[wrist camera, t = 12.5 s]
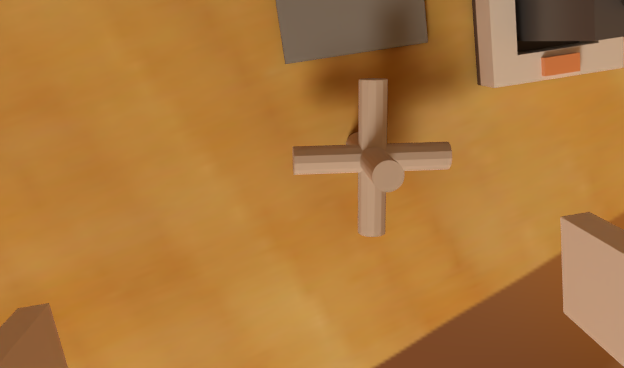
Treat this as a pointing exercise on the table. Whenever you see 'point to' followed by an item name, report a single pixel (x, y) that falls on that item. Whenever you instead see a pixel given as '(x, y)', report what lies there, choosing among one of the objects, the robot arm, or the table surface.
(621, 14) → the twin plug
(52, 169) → the table surface
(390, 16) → the pad
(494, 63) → the power strip
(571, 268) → the robot arm
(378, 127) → the pipe connector
